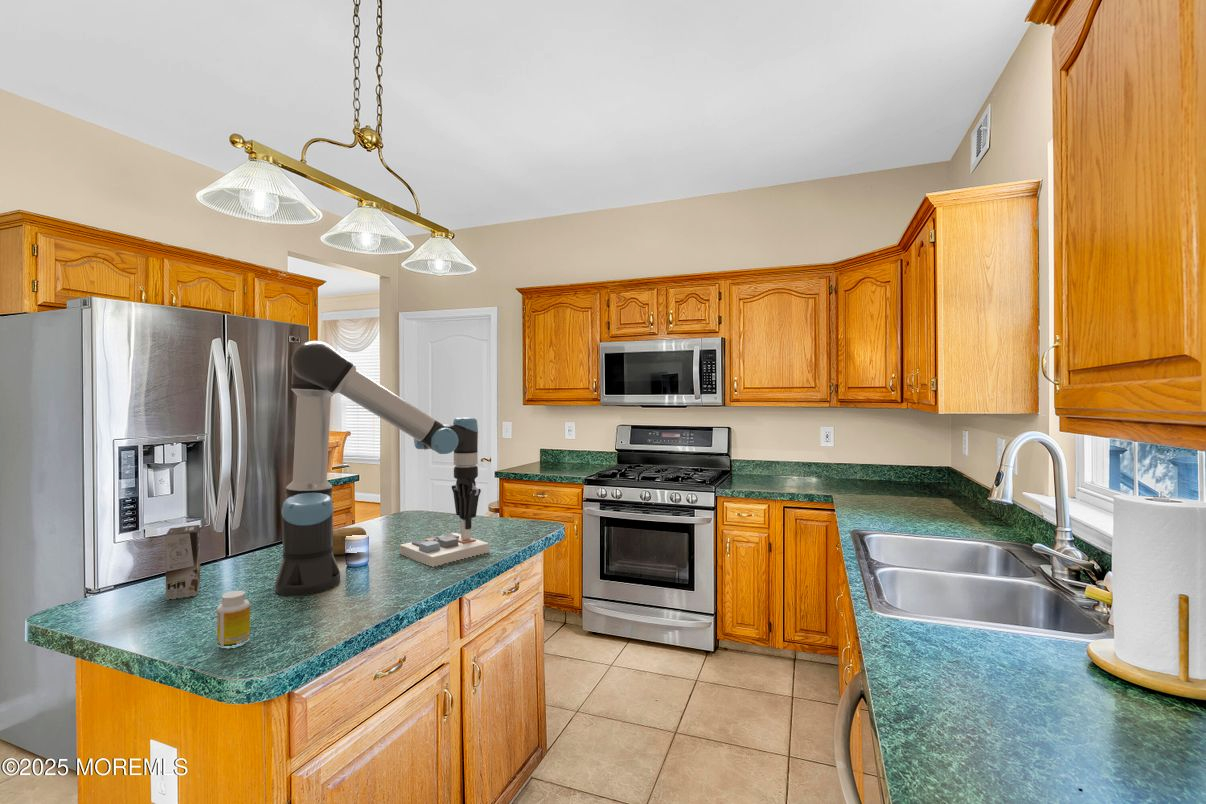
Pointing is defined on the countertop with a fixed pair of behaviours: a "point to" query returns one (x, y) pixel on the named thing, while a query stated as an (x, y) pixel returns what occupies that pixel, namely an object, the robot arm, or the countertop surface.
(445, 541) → the key charcoal
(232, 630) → the supplement bottle
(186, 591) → the coffee box
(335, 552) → the potato
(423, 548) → the key slate
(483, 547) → the keypad
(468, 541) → the key terracotta
